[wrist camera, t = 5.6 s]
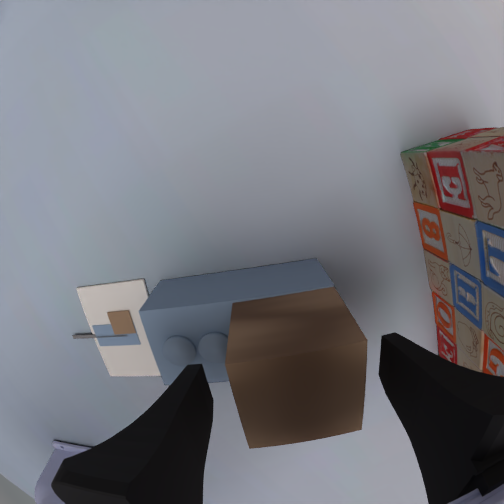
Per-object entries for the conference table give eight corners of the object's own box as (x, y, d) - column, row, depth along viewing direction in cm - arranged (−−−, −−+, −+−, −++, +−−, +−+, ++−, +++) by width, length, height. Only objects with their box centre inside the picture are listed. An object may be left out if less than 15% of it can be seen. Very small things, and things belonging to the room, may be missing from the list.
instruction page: (92, 374, 20) (90, 377, 19) (58, 289, 18) (55, 291, 17) (173, 373, 19) (172, 376, 19) (144, 278, 17) (142, 280, 17)
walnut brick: (249, 380, 15) (249, 448, 10) (232, 302, 13) (224, 364, 9) (337, 366, 14) (361, 429, 10) (333, 286, 13) (367, 340, 9)
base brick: (179, 345, 19) (163, 388, 15) (160, 280, 17) (136, 314, 13) (321, 327, 18) (338, 369, 14) (316, 258, 17) (336, 287, 13)
